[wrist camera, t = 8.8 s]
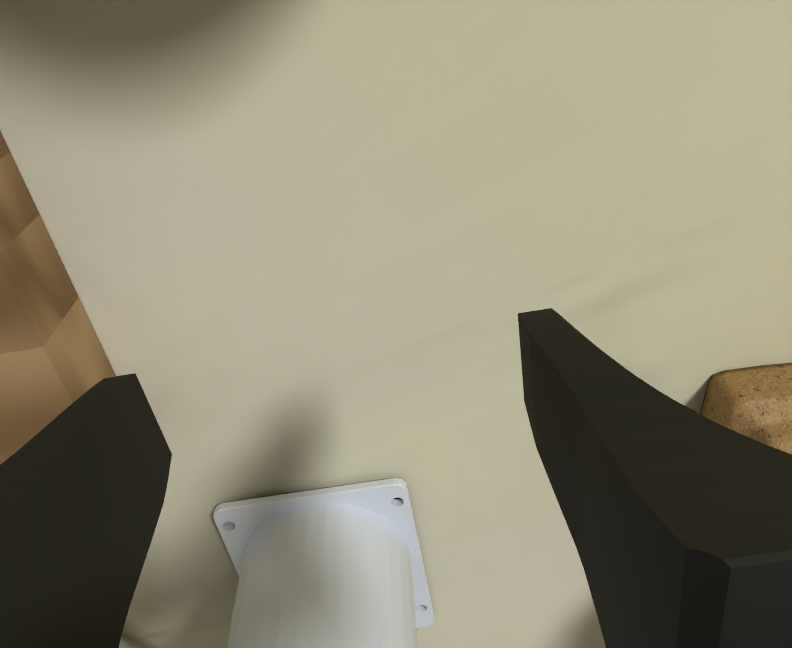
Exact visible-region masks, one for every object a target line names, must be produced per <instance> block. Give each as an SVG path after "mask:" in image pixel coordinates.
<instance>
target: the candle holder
mask: <svg viewBox="0 0 792 648" xmlns="http://www.w3.org/2000/svg"><path fill="white" fill-rule="evenodd" d="M700 415H702V416H704V417H706V418H708V419H710V420H712V421H714V422H716V423H718V424H720V425H722V426H725V427H727V428H729V429H731V430H734V431H736V432H738V433H740V434H743V435H745V436H747V437H749V438H752V439H754V440H756V441H758V442H761V443H763V444H766V445H768V446H771V447H774V448H776V449H779V450H781V451H784V452H786V453H789V454H792V363H785V364H774V365H763V366H755V367H748V368H741V369H734V370H726V371H722V372H720V373H717V374H715V375H713V377H712V378H711V380H710V381H709V383H708V387H707V391H706V395H705V398H704V402H703V406H702V410H701V414H700Z"/></svg>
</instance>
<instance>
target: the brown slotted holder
mask: <svg viewBox="0 0 792 648" xmlns="http://www.w3.org/2000/svg"><path fill="white" fill-rule="evenodd" d="M110 377H116V375H115V373H114V371H113V369H112V367H111V365H110V362H109V360H108V358H107V356H106V354H105V352H104V350H103V348H102V346H101V343H100V341H99V339H98V337H97V335H96V333H95V331H94V329H93V326H92V324H91V322H90V320H89V318H88V316H87V314H86V312H85V309H84V307H83V305H82V303H81V301H80V299H79V297H78V295H77V293H76V290H75V288H74V286H73V284H72V282H71V280H70V278H69V276H68V273H67V271H66V269H65V267H64V265H63V263H62V261H61V259H60V256H59V254H58V252H57V250H56V248H55V246H54V244H53V242H52V240H51V237H50V235H49V233H48V231H47V229H46V227H45V225H44V223H43V220H42V218H41V216H40V214H39V212H38V210H37V208H36V206H35V204H34V201H33V199H32V197H31V195H30V193H29V191H28V189H27V187H26V184H25V182H24V180H23V178H22V176H21V174H20V172H19V170H18V167H17V165H16V163H15V161H14V159H13V157H12V155H11V153H10V151H9V148H8V146H7V144H6V142H5V140H4V138H3V136H2V134H1V131H0V464H2V463H3V462H4V461H5V460H7V459H8V458H9V457H10V456H12V455H13V454H14V453H15V452H17V451H18V450H19V449H20V448H21V447H23V446H24V445H25V444H26V443H27V442H28V441H29V440H31V439H32V438H33V437H34V436H35V435H36V434H38V433H39V432H40V431H41V430H42V429H43V428H44V427H46V426H47V425H48V424H49V423H50V422H51V421H53V420H54V419H55V418H56V417H57V416H58V415H59V414H61V413H62V412H63V411H64V410H65V409H66V408H68V407H69V406H70V405H71V404H72V403H73V402H75V401H76V400H77V399H78V398H79V397H80V396H82V395H83V394H84V393H85V392H87V391H88V390H89V389H90V388H92V387H93V386H94V385H96V384H97V383H98V382H100V381H101V380H103V379H104V378H110Z"/></svg>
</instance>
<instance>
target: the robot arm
mask: <svg viewBox="0 0 792 648" xmlns="http://www.w3.org/2000/svg"><path fill="white" fill-rule="evenodd" d="M518 322H519V335H520V348H521V361H522V375H523V388H524V401H525V405H526V409H527V413H528V417H529V421H530V425H531V429H532V432H533V436H534V440H535V444H536V447H537V450H538V452H539V455H540V458H541V460H542V463H543V465H544V468H545V470H546V473H547V475H548V478H549V480H550V483H551V485H552V488H553V490H554V493H555V495H556V498H557V500H558V503H559V505H560V508H561V510H562V513H563V515H564V518H565V520H566V523H567V525H568V528H569V530H570V533H571V535H572V538H573V540H574V543H575V545H576V548H577V550H578V553H579V556H580V559H581V562H582V565H583V568H584V571H585V574H586V578H587V581H588V584H589V588H590V591H591V595H592V598H593V602H594V605H595V609H596V612H597V616H598V619H599V623H600V627H601V630H602V634H603V638H604V641H605V645H606V648H792V454H789V453H786V452H784V451H781V450H779V449H776V448H774V447H771V446H768V445H766V444H763V443H761V442H758V441H756V440H754V439H752V438H749V437H747V436H745V435H743V434H740V433H738V432H736V431H734V430H731V429H729V428H727V427H725V426H722V425H720V424H718V423H716V422H714V421H712V420H710V419H708V418H706V417H704V416H702V415H700V414H699V413H697V412H695V411H693V410H691V409H689V408H688V407H686V406H684V405H682V404H680V403H678V402H677V401H675V400H673V399H671V398H670V397H668V396H666V395H665V394H663V393H661V392H660V391H658V390H656V389H655V388H653V387H652V386H650V385H649V384H647V383H646V382H644V381H643V380H641V379H640V378H638V377H637V376H635V375H634V374H632V373H631V372H630V371H628V370H627V369H625V368H624V367H623V366H621V365H620V364H619V363H617V362H616V361H615V360H614V359H612V358H611V357H610V356H608V355H607V354H606V353H604V352H603V351H602V350H601V349H599V348H598V347H597V346H596V345H594V344H593V343H592V342H591V341H590V340H588V339H587V338H586V337H585V336H584V335H582V334H581V333H580V332H579V331H578V330H577V329H575V328H574V327H573V326H572V325H571V324H570V323H568V322H567V321H566V320H565V319H564V318H563V317H562V316H560V315H559V314H558V313H557V312H556V311H554V310H553V309H552V308H550V309H543V310H537V311H531V312H524V313H518ZM171 456H172V454H171V451H170V449H169V447H168V445H167V442H166V440H165V438H164V436H163V434H162V431H161V429H160V427H159V425H158V423H157V420H156V418H155V416H154V414H153V411H152V409H151V407H150V405H149V403H148V400H147V398H146V396H145V394H144V392H143V389H142V387H141V385H140V383H139V380H138V378H137V376H136V374H129V375H122V376H116V377H110V378H104V379H103V380H101V381H100V382H98V383H97V384H96V385H94V386H93V387H92V388H90V389H89V390H88V391H87V392H85V393H84V394H83V395H82V396H80V397H79V398H78V399H77V400H76V401H75V402H73V403H72V404H71V405H70V406H69V407H68V408H66V409H65V410H64V411H63V412H62V413H61V414H59V415H58V416H57V417H56V418H55V419H54V420H53V421H51V422H50V423H49V424H48V425H47V426H46V427H44V428H43V429H42V430H41V431H40V432H39V433H38V434H36V435H35V436H34V437H33V438H32V439H31V440H29V441H28V442H27V443H26V444H25V445H24V446H23V447H21V448H20V449H19V450H18V451H17V452H15V453H14V454H13V455H12V456H10V457H9V458H8V459H7V460H5V461H4V462H3V463H2V464H0V648H119V643H120V639H121V634H122V631H123V627H124V624H125V620H126V617H127V613H128V609H129V606H130V603H131V600H132V597H133V594H134V591H135V588H136V585H137V582H138V579H139V576H140V573H141V570H142V567H143V564H144V561H145V558H146V555H147V552H148V549H149V546H150V543H151V540H152V537H153V534H154V531H155V528H156V525H157V522H158V519H159V516H160V512H161V509H162V506H163V502H164V498H165V492H166V487H167V482H168V476H169V469H170V463H171ZM393 498H401V499H393ZM213 518H214V521H215V523H216V526H217V528H218V530H219V532H220V535H221V537H222V539H223V542H224V544H225V546H226V548H227V551H228V553H229V555H230V558H231V560H232V562H233V564H234V567H235V569H236V571H237V574H238V576H239V581H238V587H237V592H236V598H235V603H234V609H233V614H232V619H231V625H230V630H229V636H228V641H227V647H226V648H418V643H417V629H418V628H425V627H429V626H431V625H432V624H433V623H434V621H435V617H434V610H433V606H432V601H431V596H430V591H429V587H428V582H427V577H426V572H425V568H424V563H423V558H422V553H421V549H420V544H419V539H418V534H417V530H416V525H415V520H414V515H413V510H412V506H411V501H410V496H409V491H408V487H407V484H406V482H405V481H403V480H402V479H399V478H392V479H385V480H378V481H371V482H364V483H357V484H351V485H344V486H337V487H330V488H323V489H316V490H309V491H303V492H296V493H289V494H282V495H275V496H268V497H261V498H255V499H248V500H241V501H234V502H227V503H222V504H219V505H218V506H216V508H215V510H214V514H213ZM227 522H231V523H227Z"/></svg>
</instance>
